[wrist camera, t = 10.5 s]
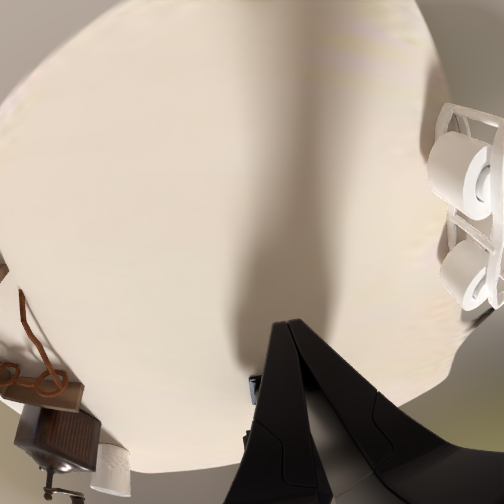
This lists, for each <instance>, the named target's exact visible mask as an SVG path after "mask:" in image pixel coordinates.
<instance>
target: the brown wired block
mask: <svg viewBox="0 0 504 504" xmlns="http://www.w3.org/2000/svg"><path fill="white" fill-rule="evenodd" d="M8 272H9V270H8V268H7V266H6V264H3V265H0V283H1V281H2V280H3V279H4V277H5V276H6V275H7V273H8ZM1 365H2V364H1V362H0V366H1ZM12 378H13V375H11V374H10V373H9V372H8V371H7V369H6V368H4V369H3V370H1V371H0V382H6V381H9V380H10V379H12ZM18 380H21V381H26V382H36V380H37V379H33V378H26V377H18ZM62 383H63V382H61V384H62ZM84 387H85V386H84V385H83V384H82V383H73V382H68V385H67V387H66V389H65V390H64V391H63V392H62V393H61V394H60V395H58V396H56V397H51V398H47V397H42V396H40V395H39V394H38V393H37V391H36V390H35V388H34V387H25V386H20V385H18V384H17V383H16V382H15V383H14V384H12V385H10V386H7V387H0V396H1V397H2V398H3V399H7V400H11V401H15V402H19V403H23V404H28V405H33V406H38V407H43V408H49V409H55V410H62V411H69V412H77V413H79V408H80V404H81V399H82V395H83V391H84ZM39 388H40V390H41V391H43V392H53V391H55V390H57V389H58V387H57V385H56V384H55V382H54V381H50V380H42V381H41V383H40V386H39Z"/></svg>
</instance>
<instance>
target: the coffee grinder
mask: <svg viewBox="0 0 504 504" xmlns="http://www.w3.org/2000/svg"><path fill="white" fill-rule="evenodd" d="M100 428H101V422H100V421H99V420H97V419H96V418H94V417H93V416H91V415H90V414H88V413H86V412H85V411H83V410H81V409H80V408H79V413H77V412H69V411H62V410H55V409H49V408H43V407H38V406H33V405H28V404H25V405H24V408H23V411H22V414H21V418H20V421H19V425H18V428H17V432H16V437H15V440H14V444H15V445H16V446H18V447H19V448H21V449H23V450H25V452H26V453H27V454H28V455H30V456H31V457H32V458H33V459H34V460H35V462H37V463H38V464H39V466H40V467H39V468H40V469H41V470H42V471H43V470H46V471H47V482H46V487H44V488H43V489H44V491H45V494H44V498H45V499H46V500H48V501H51V500H52V496H51V494H53V492H58V493H63V494H67V495H72V496H70V498H71V500H72V504H84V500H85V498H84V494H83V493H81V492H74V491H69V490H65V489H60V488H52V479H53V474H54V473H58V474H64V473H69V472H72V471H73V472H96V464H97V453H98V444H99V435H100Z"/></svg>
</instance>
